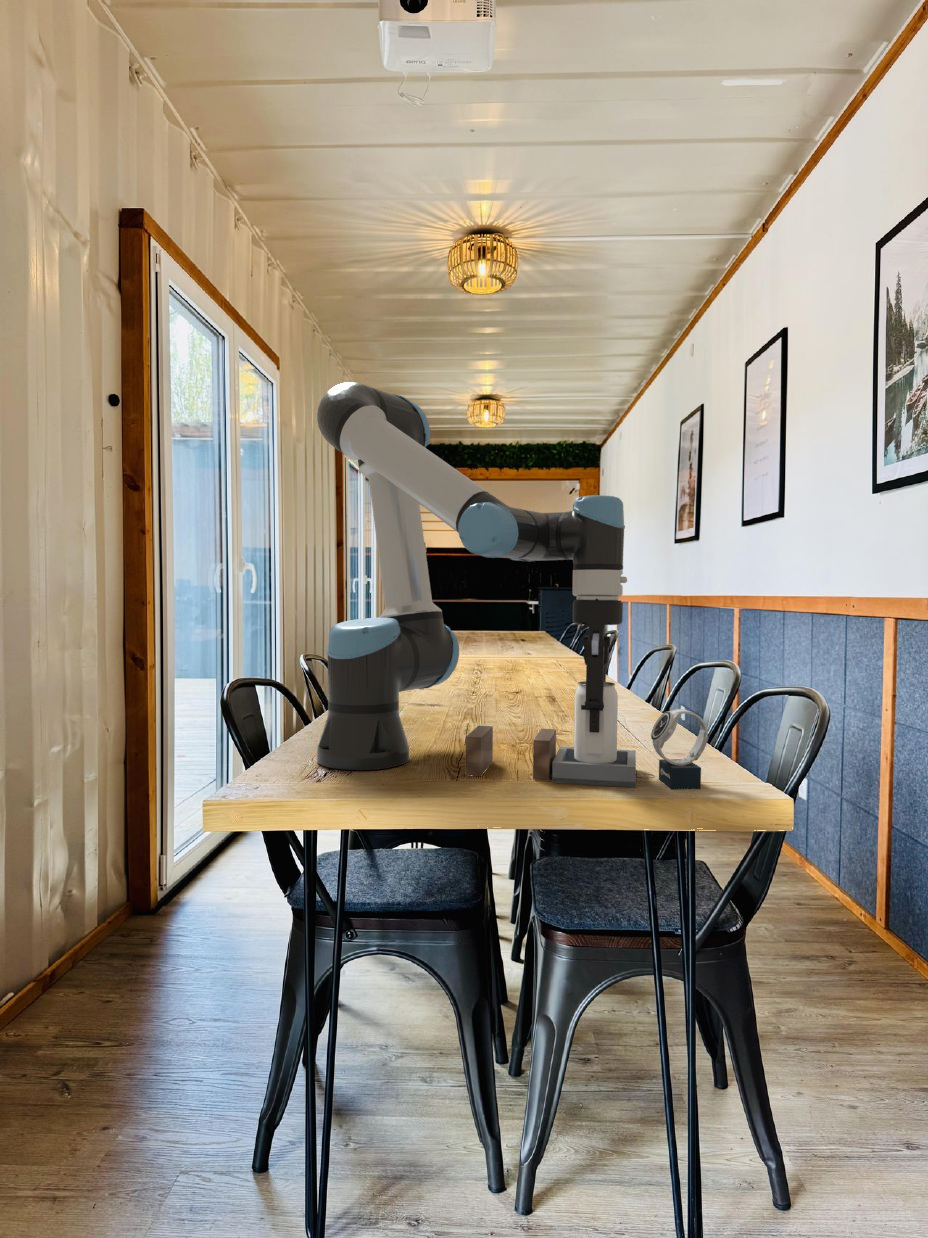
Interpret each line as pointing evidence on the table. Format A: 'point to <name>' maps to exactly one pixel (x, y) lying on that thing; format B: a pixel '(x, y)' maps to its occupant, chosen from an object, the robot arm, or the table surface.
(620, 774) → the tray
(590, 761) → the can
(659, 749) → the watch
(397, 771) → the table surface
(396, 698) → the robot arm
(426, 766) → the table surface
